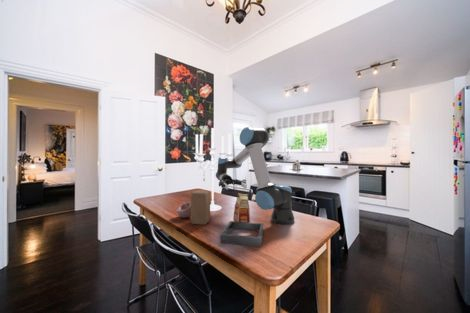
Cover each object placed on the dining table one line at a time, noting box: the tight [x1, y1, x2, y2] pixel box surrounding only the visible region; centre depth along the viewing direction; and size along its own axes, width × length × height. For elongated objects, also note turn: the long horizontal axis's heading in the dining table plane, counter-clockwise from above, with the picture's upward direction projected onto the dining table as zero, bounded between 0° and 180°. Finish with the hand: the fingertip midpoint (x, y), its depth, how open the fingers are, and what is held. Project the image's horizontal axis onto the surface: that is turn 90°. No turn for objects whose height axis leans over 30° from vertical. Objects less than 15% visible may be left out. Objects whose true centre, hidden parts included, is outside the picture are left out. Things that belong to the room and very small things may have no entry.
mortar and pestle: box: [175, 200, 191, 219], centre depth 134 cm, size 12×12×12 cm
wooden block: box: [190, 189, 211, 226], centre depth 125 cm, size 10×10×20 cm
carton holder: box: [220, 220, 265, 248], centre depth 104 cm, size 20×20×4 cm
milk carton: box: [232, 192, 251, 223], centre depth 121 cm, size 9×9×20 cm
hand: (236, 187), depth 129 cm, fingers open, 13 cm apart
